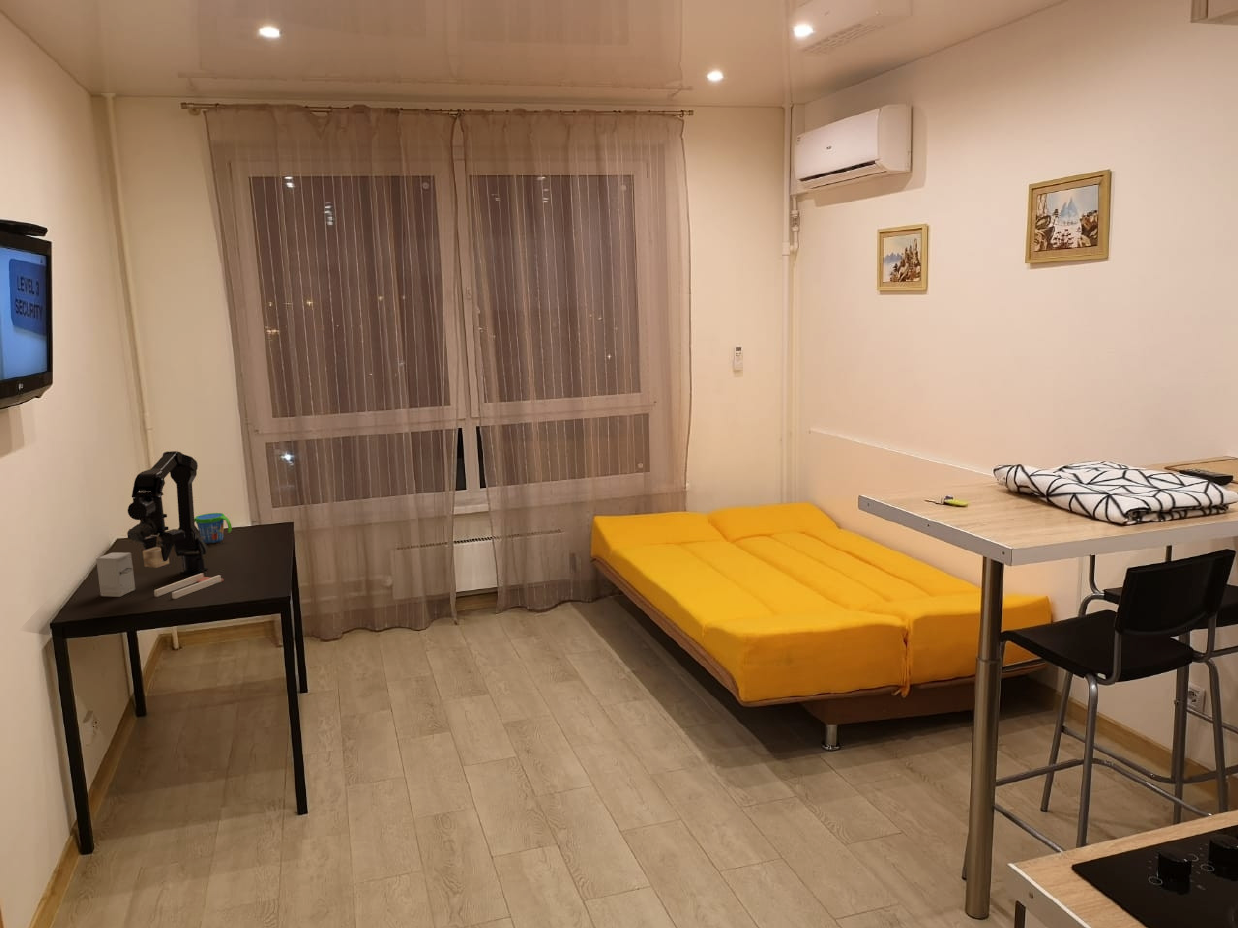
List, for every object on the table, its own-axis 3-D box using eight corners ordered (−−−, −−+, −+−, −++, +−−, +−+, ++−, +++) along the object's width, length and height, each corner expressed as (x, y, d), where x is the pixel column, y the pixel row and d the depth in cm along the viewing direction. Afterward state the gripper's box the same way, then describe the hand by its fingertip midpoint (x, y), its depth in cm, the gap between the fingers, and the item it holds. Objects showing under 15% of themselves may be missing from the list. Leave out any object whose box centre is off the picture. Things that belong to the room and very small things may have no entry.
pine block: (144, 566, 298) (142, 551, 297) (157, 562, 302) (155, 547, 302) (156, 567, 296) (154, 552, 295) (169, 563, 301) (167, 548, 300)
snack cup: (185, 544, 362) (182, 518, 361) (202, 537, 373) (199, 512, 371) (222, 545, 360) (219, 519, 358) (238, 538, 370) (235, 512, 368)
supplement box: (120, 597, 300) (115, 558, 297) (100, 596, 301) (94, 558, 299) (136, 589, 307) (131, 552, 305) (116, 589, 308) (111, 551, 306)
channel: (154, 596, 299) (154, 590, 299) (204, 578, 317) (203, 572, 317) (175, 598, 296) (174, 592, 296) (223, 580, 314) (223, 574, 314)
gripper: (109, 516, 293) (116, 565, 296) (153, 520, 286) (160, 570, 289) (139, 508, 303) (145, 555, 306) (183, 512, 296) (189, 560, 299)
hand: (159, 560), depth 300 cm, fingers closed on pine block, 5 cm apart
